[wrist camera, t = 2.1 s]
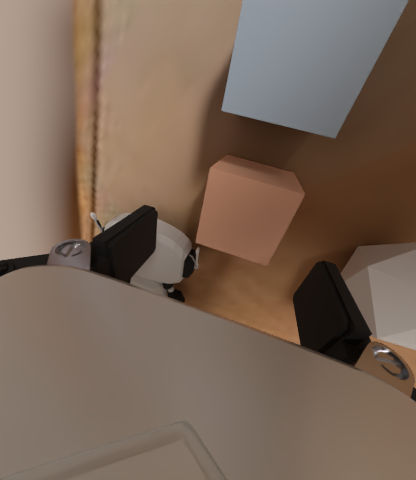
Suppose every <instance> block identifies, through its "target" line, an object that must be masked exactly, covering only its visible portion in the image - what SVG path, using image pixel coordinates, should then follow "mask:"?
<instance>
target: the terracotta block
mask: <svg viewBox="0 0 416 480" xmlns="http://www.w3.org/2000/svg"><path fill="white" fill-rule="evenodd" d="M304 196H305V193H304V191H303V189H302V187H301V185H300V183H299V181H298V180H297V178H296V176H295V174H294V172H290V171H286V170H283V169H279V168H275V167H271V166H268V165H264V164H260V163H257V162H253V161H249V160H246V159H242V158H238V157H235V156H231V155H226V156H225V157H223V158H222V159H221V160H219V161H218V162H217V163H215V164H214V165H213V166H212V167H210V170H209V175H208V180H207V186H206V191H205V196H204V201H203V206H202V211H201V216H200V221H199V226H198V231H197V236H196V242H195V243H198V244H201V245H204V246H207V247H210V248H213V249H216V250H219V251H222V252H225V253H228V254H231V255H234V256H237V257H240V258H243V259H246V260H249V261H252V262H255V263H258V264H261V265H264V266H268V264H269V262H270V260H271V258H272V256H273V254H274V252H275V251H276V249H277V247H278V245H279V243H280V241H281V239H282V237H283V236H284V234H285V232H286V230H287V228H288V226H289V224H290V222H291V221H292V219H293V217H294V215H295V213H296V211H297V209H298V207H299V205H300V204H301V202H302V200H303V198H304Z"/></svg>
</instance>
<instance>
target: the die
mask: <svg viewBox="0 0 416 480" xmlns="http://www.w3.org/2000/svg"><path fill="white" fill-rule="evenodd" d="M341 276H342V278H343V279H344V281H345V283H346V285H347V287H348V289H349V291H350V293H351V295H352V297H353V298H354V300H355V302H356V304H357V306H358V308H359V310H360V312H361V314H362V316H363V317H364V319H365V321H366V323H367V325H368V327H369V329H370V331H371V333H372V335H371V336H372V337H374V338H377V339H380V340H384V341H387V342H390V343H394V344H397V345H400V346H404V347H407V348H410V349H414V350H416V242H414V243H399V244H384V245H369V246H358V247H357V249H356V250H355V252H354V253H353V255H352V257H351V258H350V260H349V261H348V263H347V264H346V266H345V267H344V269H343V271H342V272H341Z"/></svg>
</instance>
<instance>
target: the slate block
mask: <svg viewBox="0 0 416 480" xmlns="http://www.w3.org/2000/svg"><path fill="white" fill-rule="evenodd" d="M408 1H409V0H243V3H242V8H241V13H240V18H239V23H238V28H237V33H236V38H235V44H234V49H233V54H232V59H231V64H230V69H229V74H228V79H227V84H226V89H225V94H224V99H223V105H222V110H221V111H224V112H228V113H232V114H236V115H240V116H244V117H249V118H253V119H257V120H261V121H265V122H269V123H273V124H277V125H281V126H285V127H289V128H294V129H298V130H302V131H306V132H310V133H314V134H318V135H322V136H326V137H331V138H336V136H337V134H338V132H339V130H340V128H341V127H342V125H343V123H344V121H345V119H346V117H347V115H348V113H349V112H350V110H351V108H352V106H353V104H354V102H355V100H356V98H357V97H358V95H359V93H360V91H361V89H362V87H363V85H364V83H365V81H366V80H367V78H368V76H369V74H370V72H371V70H372V68H373V66H374V65H375V63H376V61H377V59H378V57H379V55H380V53H381V51H382V50H383V48H384V46H385V44H386V42H387V40H388V38H389V36H390V35H391V33H392V31H393V29H394V27H395V25H396V23H397V21H398V20H399V18H400V16H401V14H402V12H403V10H404V8H405V6H406V4H407V3H408Z"/></svg>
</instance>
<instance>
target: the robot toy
mask: <svg viewBox="0 0 416 480" xmlns="http://www.w3.org/2000/svg"><path fill="white" fill-rule="evenodd" d="M130 214H131V213H123V214H120V215H118V216H116V217H115V218H114V219H112V220H111V221H110V222H108V223H107V224H106V226H105V227H103V228H102V226H101V224H100V223H99V221H98V219H97V218H96V217H97V216H96V214H95V213H92V212H91V215H90V216H91V217H92V219H94V221H95V222H96V224H97V226H98V227H99V229H100V231H101V232H103V231H105V230H106V229H108V228H109V227H111V226H113V225H114V224H116V223H117V222H119V221H120V220H122V219H123V218H125V217H126V216H128V215H130ZM199 251H200V248H197V249H196V252H195V250H194V249H193V248H192V243H191V241H190V239H189V238H188V237H187V236H186V235H185V234H184V233H183V232H181V231H180V230H179V229H177V228H175V227H174V226H172V225H170V224H168V223H166V222H164V221H161V220H159V219H157V235H156V249H155V251H154V253H153V254H152V255H151V256H150V257H149V258H148V260H147V261H146V262H145V263H144V264H143V265H142V266H141V268H140V269H139V270H138V271H137V272H136V273H135V274H134V275H133V277H132V278H131V279H130V280H129V281H128V282H127V283H130V284H133V285H136V286H139V287H141V288H144V289H147V290H150V291H153V292H155V293H158V294H161V295H164V296H166V295H167V293H168V297H169V298H172V299H175V300H178V301H181V302H183V303H184V302H185V298H184V296H183V294H182V292H181V291H179V290H177V289H174V287H173V285H174V283H179V282H180V281H181V280H182V279H183V278H188V277H189V276H190V275H191V274H192V273H193V271H194V269H196V270H197V269H198V266H199V263H198V257H199ZM168 291H169V292H168Z"/></svg>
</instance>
